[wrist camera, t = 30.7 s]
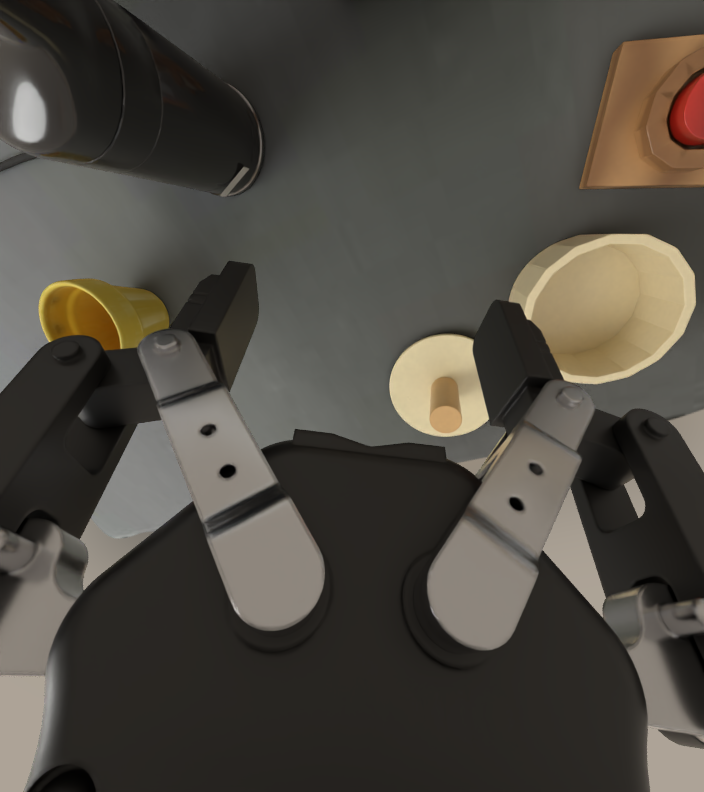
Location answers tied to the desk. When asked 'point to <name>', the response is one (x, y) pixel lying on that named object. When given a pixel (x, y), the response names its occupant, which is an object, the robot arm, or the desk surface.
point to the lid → (439, 386)
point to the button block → (645, 118)
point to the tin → (607, 303)
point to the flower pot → (101, 312)
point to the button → (689, 114)
